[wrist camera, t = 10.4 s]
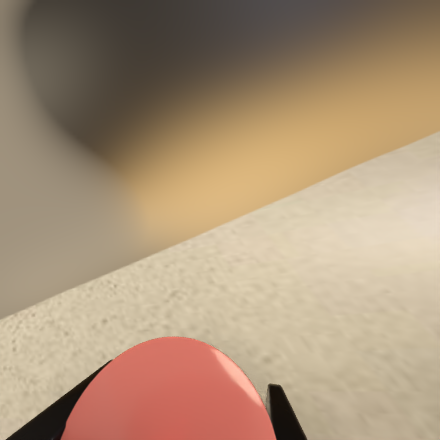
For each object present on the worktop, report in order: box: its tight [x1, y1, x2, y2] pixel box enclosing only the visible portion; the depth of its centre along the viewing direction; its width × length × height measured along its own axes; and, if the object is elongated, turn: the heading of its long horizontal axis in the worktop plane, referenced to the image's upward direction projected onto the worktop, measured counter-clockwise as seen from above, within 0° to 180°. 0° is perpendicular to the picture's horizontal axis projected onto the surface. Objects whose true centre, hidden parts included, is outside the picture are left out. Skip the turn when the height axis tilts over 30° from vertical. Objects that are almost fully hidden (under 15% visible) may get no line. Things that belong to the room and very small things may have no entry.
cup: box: [61, 337, 276, 440], centre depth 8 cm, size 5×5×12 cm
